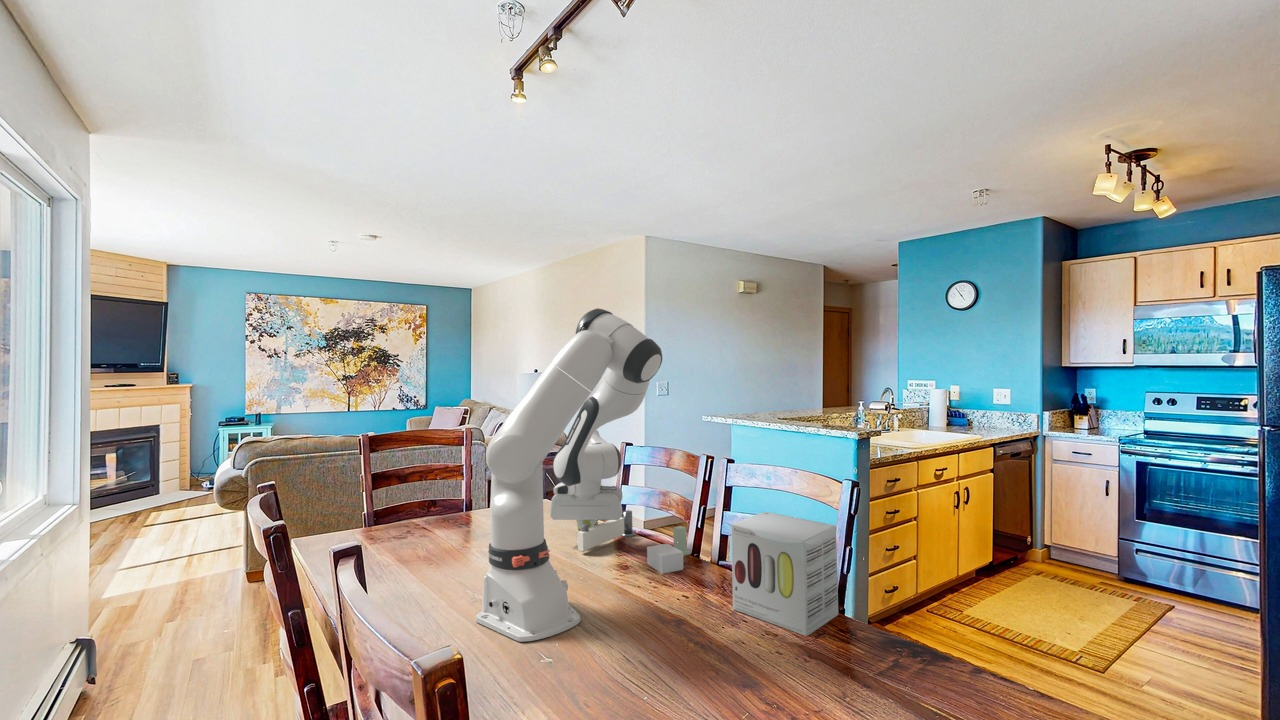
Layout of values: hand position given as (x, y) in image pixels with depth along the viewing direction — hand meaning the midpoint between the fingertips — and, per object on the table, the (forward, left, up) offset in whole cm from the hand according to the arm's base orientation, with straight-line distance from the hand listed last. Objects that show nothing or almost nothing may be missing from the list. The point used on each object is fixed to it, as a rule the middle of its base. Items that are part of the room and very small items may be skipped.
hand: (586, 535), depth 165 cm
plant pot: (+14, -10, -3) cm, 17 cm away
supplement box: (-64, -6, -3) cm, 64 cm away
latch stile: (-23, -15, -3) cm, 27 cm away
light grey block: (-27, -5, -3) cm, 28 cm away
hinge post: (0, -15, -3) cm, 15 cm away
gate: (-3, -3, -2) cm, 5 cm away
